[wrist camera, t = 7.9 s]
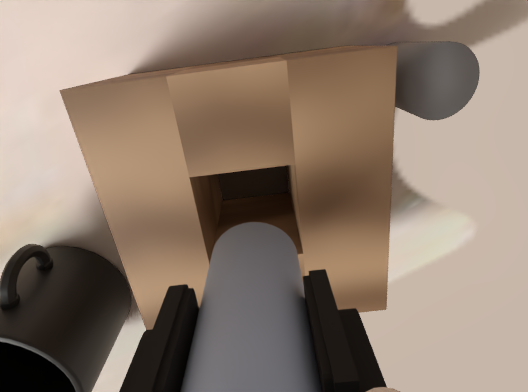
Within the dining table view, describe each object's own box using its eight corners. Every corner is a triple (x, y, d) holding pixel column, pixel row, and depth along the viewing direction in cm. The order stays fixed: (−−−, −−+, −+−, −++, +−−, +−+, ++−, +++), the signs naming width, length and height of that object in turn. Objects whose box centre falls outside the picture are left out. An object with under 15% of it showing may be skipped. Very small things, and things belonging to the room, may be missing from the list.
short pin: (366, 46, 21) (405, 47, 15) (424, 38, 21) (484, 36, 15) (366, 104, 22) (402, 124, 17) (419, 98, 22) (473, 115, 17)
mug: (124, 218, 25) (61, 301, 17) (137, 334, 30) (93, 442, 22) (-4, 211, 25) (-132, 293, 17) (30, 330, 30) (-56, 439, 22)
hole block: (127, 74, 21) (59, 90, 14) (347, 45, 21) (397, 45, 13) (177, 257, 27) (148, 335, 20) (350, 236, 26) (386, 309, 19)
